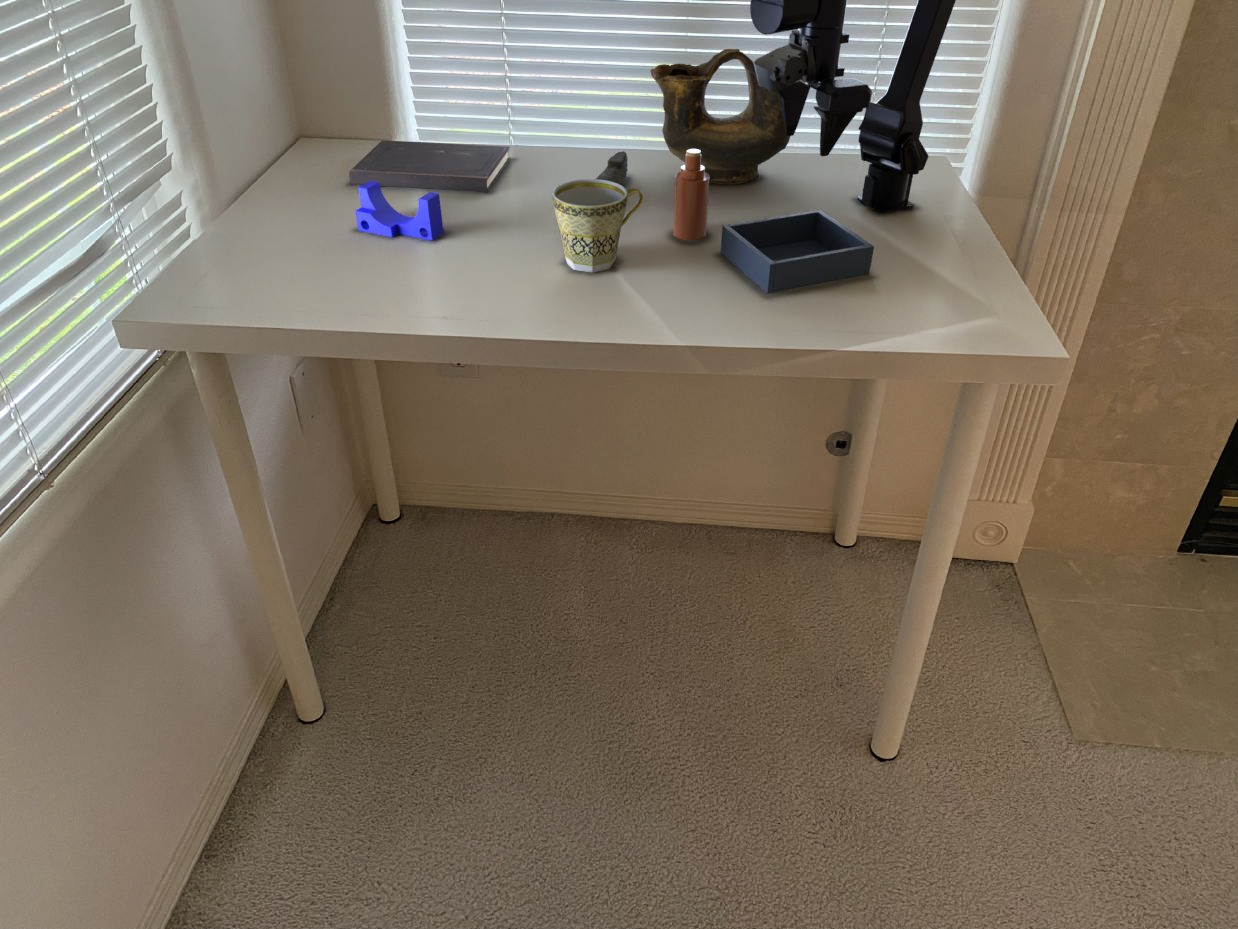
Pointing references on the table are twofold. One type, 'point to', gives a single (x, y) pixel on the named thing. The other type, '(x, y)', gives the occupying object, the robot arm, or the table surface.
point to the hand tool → (616, 169)
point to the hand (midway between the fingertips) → (806, 145)
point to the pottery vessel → (720, 120)
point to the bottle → (691, 198)
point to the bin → (796, 250)
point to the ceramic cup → (591, 221)
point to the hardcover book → (431, 165)
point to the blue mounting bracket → (398, 215)
